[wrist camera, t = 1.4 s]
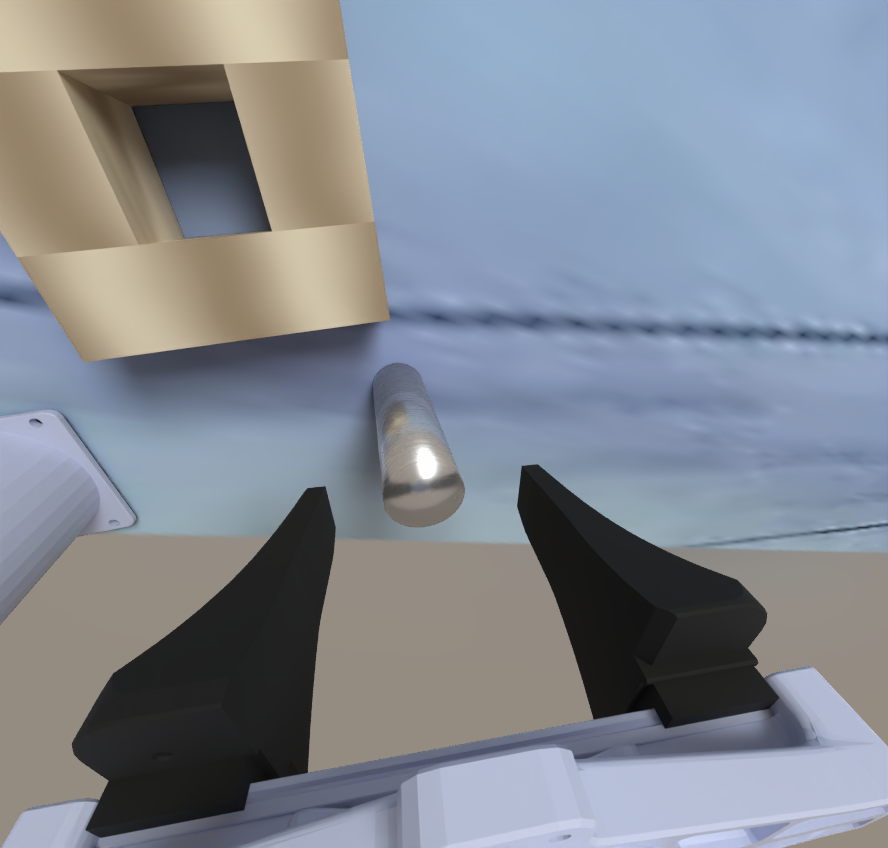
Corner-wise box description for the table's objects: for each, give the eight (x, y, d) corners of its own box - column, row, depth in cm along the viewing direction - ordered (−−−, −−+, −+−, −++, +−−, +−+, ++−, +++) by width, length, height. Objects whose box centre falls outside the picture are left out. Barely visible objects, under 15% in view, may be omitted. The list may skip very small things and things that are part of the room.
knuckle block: (136, 333, 17) (83, 362, 14) (-65, -45, 11) (-248, -158, 8) (384, 301, 19) (390, 319, 16) (327, -44, 13) (317, -137, 9)
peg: (377, 412, 22) (390, 534, 14) (368, 367, 21) (376, 473, 12) (425, 404, 23) (466, 517, 14) (419, 359, 21) (462, 456, 13)
